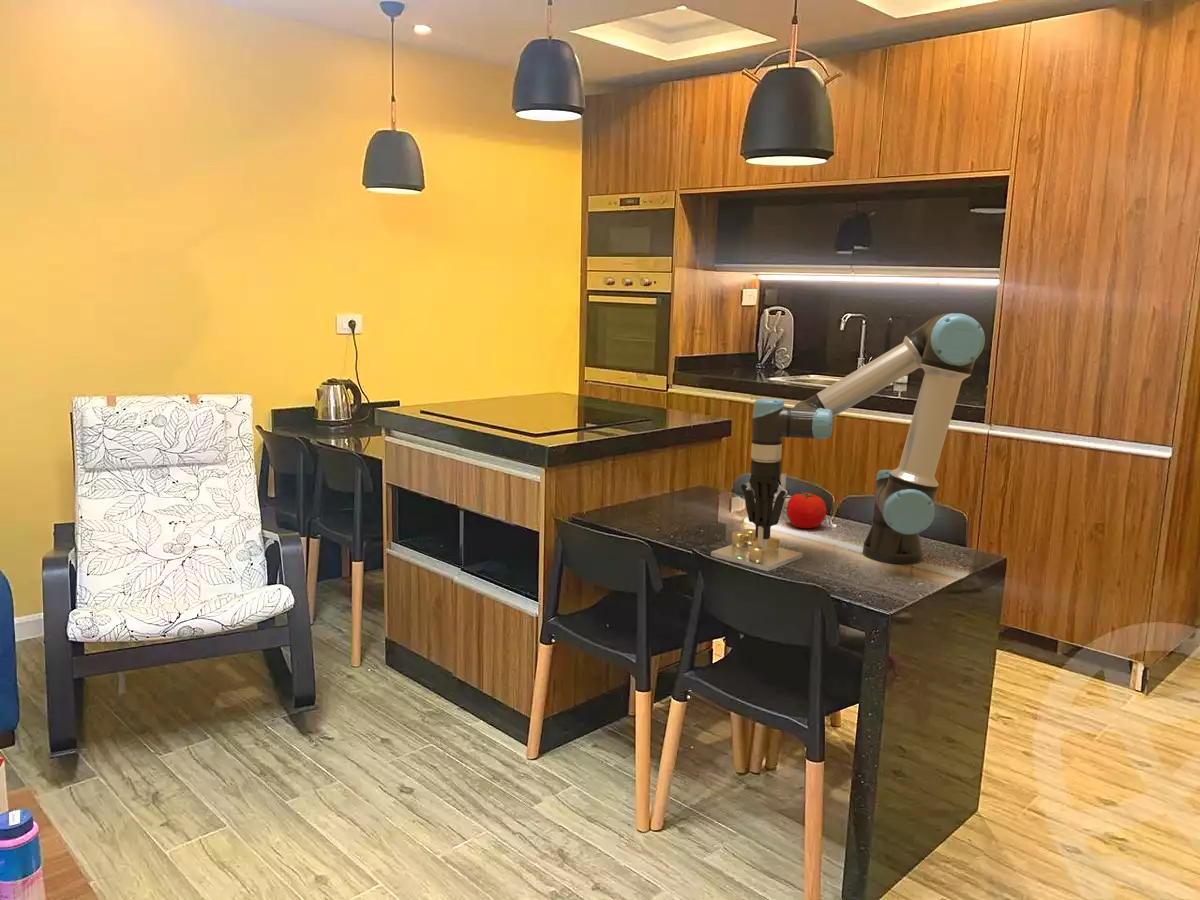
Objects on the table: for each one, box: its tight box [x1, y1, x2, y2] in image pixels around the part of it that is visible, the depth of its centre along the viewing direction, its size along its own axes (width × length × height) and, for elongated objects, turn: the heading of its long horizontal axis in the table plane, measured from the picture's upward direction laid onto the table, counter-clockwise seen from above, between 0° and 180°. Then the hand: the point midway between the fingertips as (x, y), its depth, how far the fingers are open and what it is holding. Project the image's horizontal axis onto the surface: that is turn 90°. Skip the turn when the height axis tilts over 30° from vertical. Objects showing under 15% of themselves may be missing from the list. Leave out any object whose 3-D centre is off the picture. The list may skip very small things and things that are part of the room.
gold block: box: [743, 528, 780, 549], centre depth 237 cm, size 10×4×3 cm, turn 48°
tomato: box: [786, 490, 827, 529], centre depth 263 cm, size 12×12×10 cm
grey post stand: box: [773, 473, 793, 508], centre depth 288 cm, size 5×10×15 cm
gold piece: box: [749, 541, 764, 563], centre depth 226 cm, size 10×4×3 cm, turn 174°
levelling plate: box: [710, 530, 804, 572], centre depth 231 cm, size 17×17×4 cm
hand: (761, 550), depth 228 cm, fingers closed
